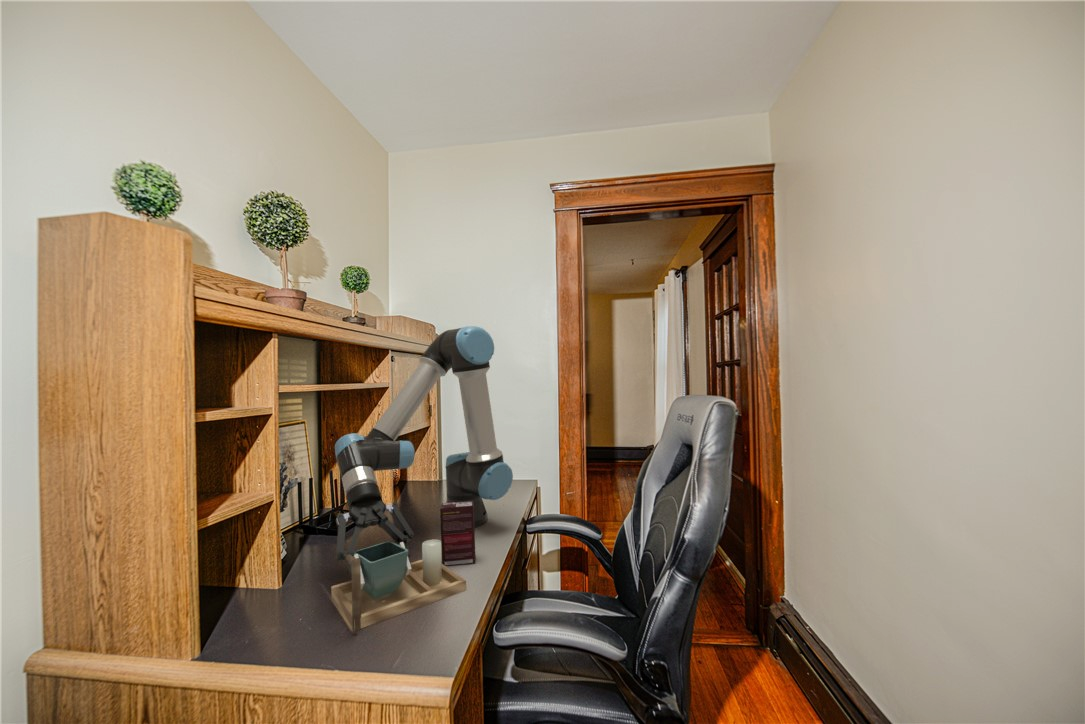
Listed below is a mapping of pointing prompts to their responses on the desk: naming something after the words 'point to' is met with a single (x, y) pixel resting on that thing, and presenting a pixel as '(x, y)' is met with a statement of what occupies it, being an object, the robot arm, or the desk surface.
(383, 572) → the flower pot
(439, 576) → the pillar candle
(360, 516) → the robot arm
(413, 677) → the desk surface
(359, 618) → the caddy
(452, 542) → the supplement box
